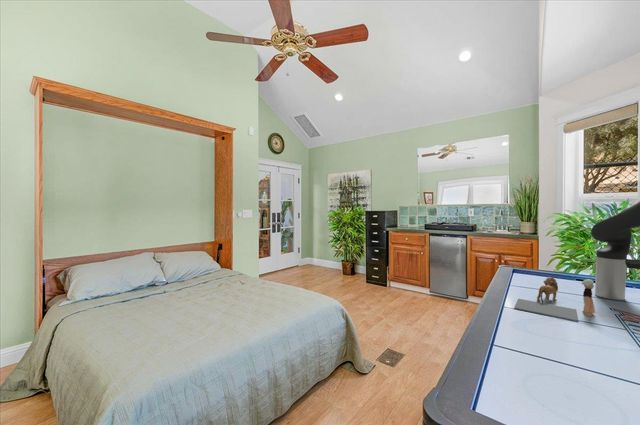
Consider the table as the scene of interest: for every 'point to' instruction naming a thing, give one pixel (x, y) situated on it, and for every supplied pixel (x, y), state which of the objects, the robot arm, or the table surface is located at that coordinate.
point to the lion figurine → (548, 289)
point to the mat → (547, 309)
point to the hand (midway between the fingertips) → (625, 263)
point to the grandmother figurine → (588, 297)
